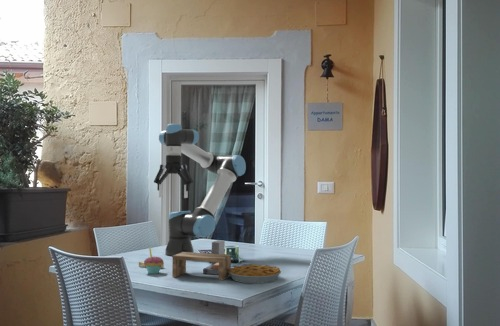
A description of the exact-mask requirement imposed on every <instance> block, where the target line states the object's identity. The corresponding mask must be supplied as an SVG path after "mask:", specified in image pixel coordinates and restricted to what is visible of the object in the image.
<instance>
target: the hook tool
mask: <svg viewBox="0 0 500 326" xmlns="http://www.w3.org/2000/svg"><path fill="white" fill-rule="evenodd" d="M225 246H226V245H225V240H221V239H217V240H215V241H211V254H225ZM216 263H219V262H211V264H210V265H209V266H207V267H205V268H203V269H202V274H205V275H218V276H219V269H213V265H214V264H216Z"/></svg>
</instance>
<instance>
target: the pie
mask: <svg viewBox="0 0 500 326" xmlns="http://www.w3.org/2000/svg"><path fill="white" fill-rule="evenodd" d="M229 273H230V277H231V279H232V280H233V281H235V282H239V283H244V284H245V283H246V284H265V283H266V284H267V283H272V282H275V281H277V280H278V278H279V276H280V274H282V270H281V268H279V267H277V266H270V265H268V264H265V265H262V264H248V265H244V264H243V265H242V264H241V265H240V266H238V265H237V266H236V265H234V266H233V267H231V268H230V271H229Z"/></svg>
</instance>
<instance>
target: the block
mask: <svg viewBox="0 0 500 326" xmlns="http://www.w3.org/2000/svg"><path fill="white" fill-rule="evenodd" d="M213 269H219V263H216V264H214V265H213Z"/></svg>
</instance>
